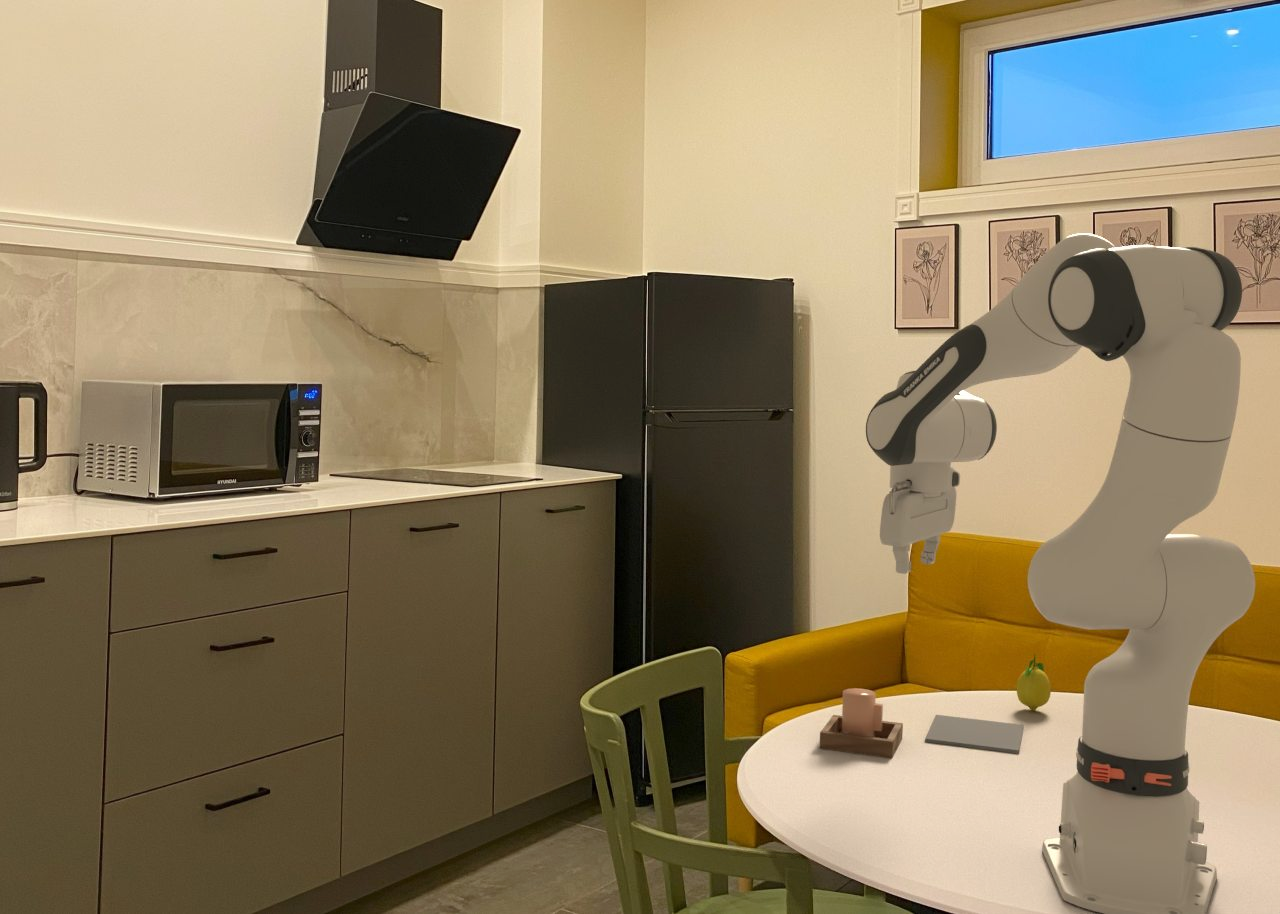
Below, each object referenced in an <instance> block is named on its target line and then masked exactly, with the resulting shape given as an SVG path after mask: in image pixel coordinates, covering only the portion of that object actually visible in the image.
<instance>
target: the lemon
mask: <svg viewBox="0 0 1280 914" xmlns="http://www.w3.org/2000/svg"><path fill="white" fill-rule="evenodd" d="M1036 657H1037V655H1036V653H1034V654H1033V660H1030V661H1029V664H1028V666H1027V667H1026V668H1025V670H1024V671H1023V672H1021V674H1020V675H1019V677H1018V679H1017V683H1016V695H1017V699H1018V701H1019V702H1020V703H1021V704H1022V705H1024V706H1026V707H1027V708H1029V710H1030V711H1032V712H1033V711H1034V712H1035V711H1036V710H1037V709H1038V708H1040V707H1042V706H1044V705H1046V704H1047V703H1048V702H1049V700H1050V698H1051V693H1052V692H1051V691H1052V690H1051V683H1050V680H1049V677H1048V675H1047V674H1046V673H1045V667H1044V665H1043V663H1042V662H1038V663H1036Z"/></svg>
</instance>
